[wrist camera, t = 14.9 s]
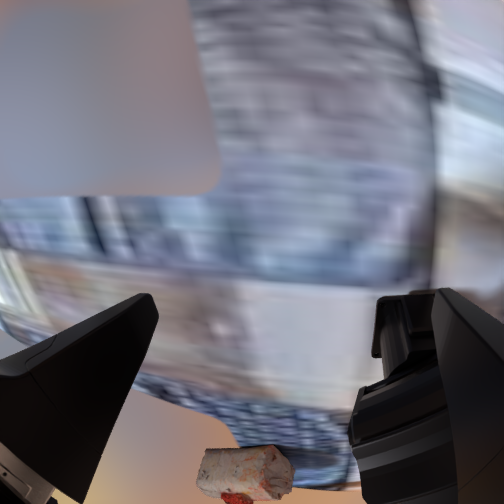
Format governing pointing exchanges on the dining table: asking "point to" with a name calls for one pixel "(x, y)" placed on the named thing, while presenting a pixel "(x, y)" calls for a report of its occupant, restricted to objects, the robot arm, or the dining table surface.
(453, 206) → the dining table surface
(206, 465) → the food item
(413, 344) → the robot arm
